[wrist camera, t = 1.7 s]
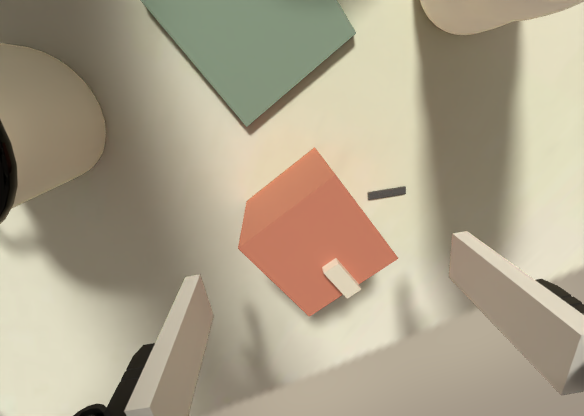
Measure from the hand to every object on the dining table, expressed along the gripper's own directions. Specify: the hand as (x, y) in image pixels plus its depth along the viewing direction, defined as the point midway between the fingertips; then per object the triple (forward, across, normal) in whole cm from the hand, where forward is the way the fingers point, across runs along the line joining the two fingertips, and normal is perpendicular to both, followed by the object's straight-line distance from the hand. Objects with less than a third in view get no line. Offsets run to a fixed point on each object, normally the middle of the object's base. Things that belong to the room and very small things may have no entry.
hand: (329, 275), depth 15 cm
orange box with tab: (+9, 0, 0) cm, 9 cm away
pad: (+8, -2, +13) cm, 16 cm away
